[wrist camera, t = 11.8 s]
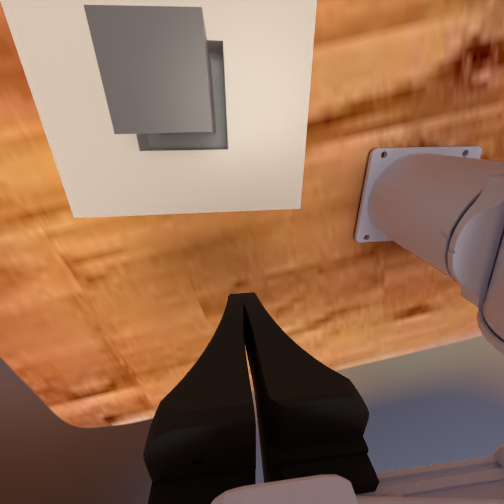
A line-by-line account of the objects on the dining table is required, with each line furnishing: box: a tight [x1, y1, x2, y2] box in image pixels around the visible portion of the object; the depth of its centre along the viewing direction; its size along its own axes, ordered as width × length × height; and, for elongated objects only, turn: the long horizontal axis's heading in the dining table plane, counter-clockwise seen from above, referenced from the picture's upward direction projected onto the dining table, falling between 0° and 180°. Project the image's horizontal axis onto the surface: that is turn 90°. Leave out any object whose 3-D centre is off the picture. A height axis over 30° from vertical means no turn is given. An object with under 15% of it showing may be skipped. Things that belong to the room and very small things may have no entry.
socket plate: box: [0, 0, 317, 218], centre depth 16 cm, size 16×14×2 cm
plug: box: [84, 5, 216, 134], centre depth 13 cm, size 4×4×8 cm
